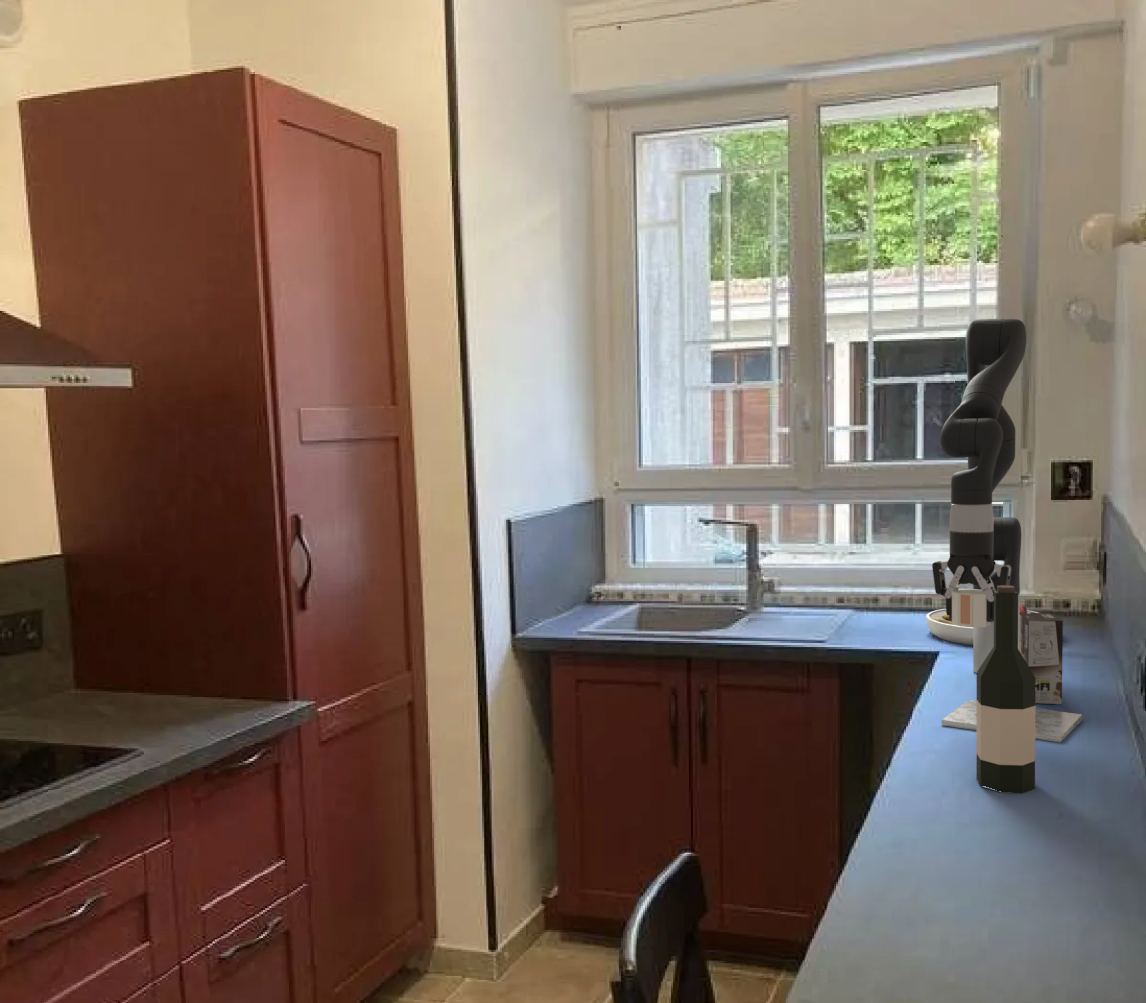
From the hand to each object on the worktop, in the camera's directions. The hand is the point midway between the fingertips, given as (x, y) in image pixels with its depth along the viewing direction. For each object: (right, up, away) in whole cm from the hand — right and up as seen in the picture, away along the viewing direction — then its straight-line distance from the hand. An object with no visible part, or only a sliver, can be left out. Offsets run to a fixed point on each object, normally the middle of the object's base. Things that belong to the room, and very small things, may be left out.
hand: (971, 619), depth 202 cm
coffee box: (+18, -17, +12) cm, 27 cm away
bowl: (+30, -12, +71) cm, 78 cm away
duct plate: (+6, -18, -4) cm, 19 cm away
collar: (0, -1, 0) cm, 1 cm away
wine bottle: (-8, -21, -36) cm, 42 cm away
